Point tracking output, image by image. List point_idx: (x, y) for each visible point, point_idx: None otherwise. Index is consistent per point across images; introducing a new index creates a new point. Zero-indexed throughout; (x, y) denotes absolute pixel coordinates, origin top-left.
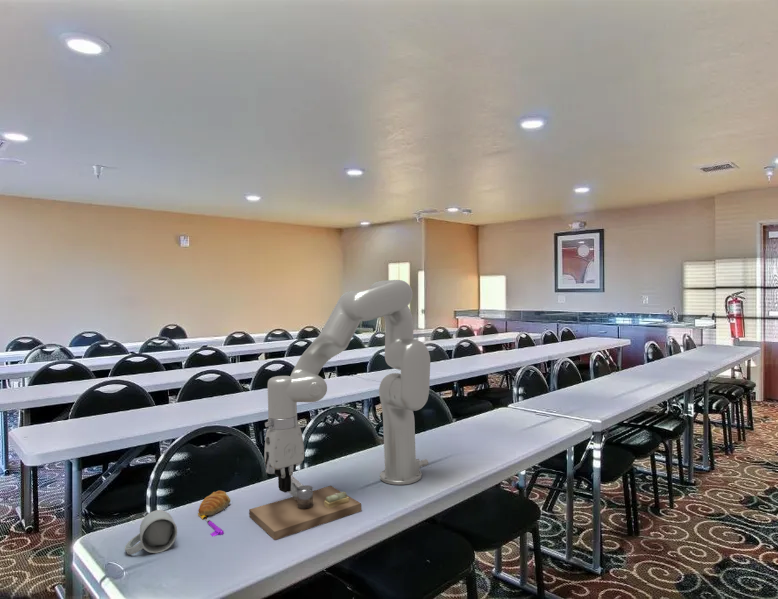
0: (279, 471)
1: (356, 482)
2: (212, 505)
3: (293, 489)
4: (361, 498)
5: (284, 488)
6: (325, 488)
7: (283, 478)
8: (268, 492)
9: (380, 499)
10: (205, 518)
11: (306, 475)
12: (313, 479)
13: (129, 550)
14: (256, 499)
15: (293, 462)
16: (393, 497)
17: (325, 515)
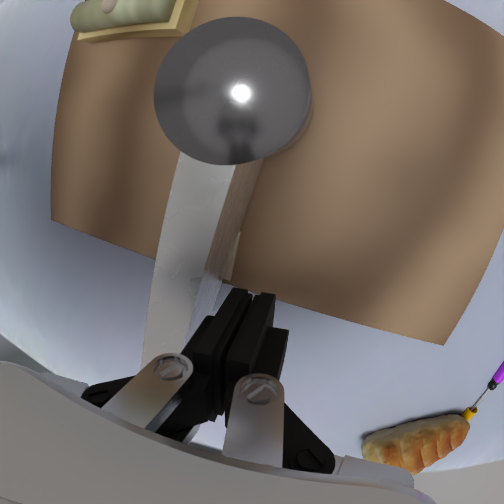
0: (282, 452)
1: (9, 207)
2: (448, 439)
3: (212, 282)
4: (48, 80)
5: (270, 320)
6: (71, 214)
7: (255, 378)
8: None
9: (35, 38)
10: (473, 408)
11: (85, 371)
12: (77, 340)
13: None
14: (292, 406)
15: (81, 432)
16: (20, 33)
17: None
